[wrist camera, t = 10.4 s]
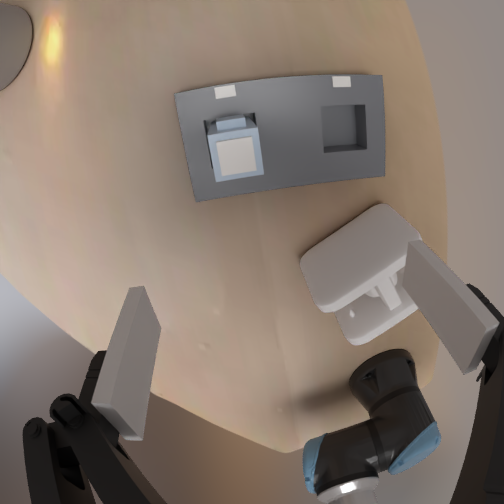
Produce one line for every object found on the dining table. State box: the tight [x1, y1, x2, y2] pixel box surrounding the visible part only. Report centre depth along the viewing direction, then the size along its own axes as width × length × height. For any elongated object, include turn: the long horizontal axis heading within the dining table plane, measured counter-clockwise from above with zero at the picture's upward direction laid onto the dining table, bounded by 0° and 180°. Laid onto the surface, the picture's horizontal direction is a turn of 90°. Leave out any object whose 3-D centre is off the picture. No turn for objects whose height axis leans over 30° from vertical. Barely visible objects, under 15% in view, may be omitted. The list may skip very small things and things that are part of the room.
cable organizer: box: [300, 203, 423, 345], centre depth 37 cm, size 15×11×12 cm
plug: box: [207, 114, 264, 182], centre depth 28 cm, size 5×4×11 cm
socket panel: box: [174, 74, 385, 202], centre depth 31 cm, size 12×22×4 cm, turn 98°
